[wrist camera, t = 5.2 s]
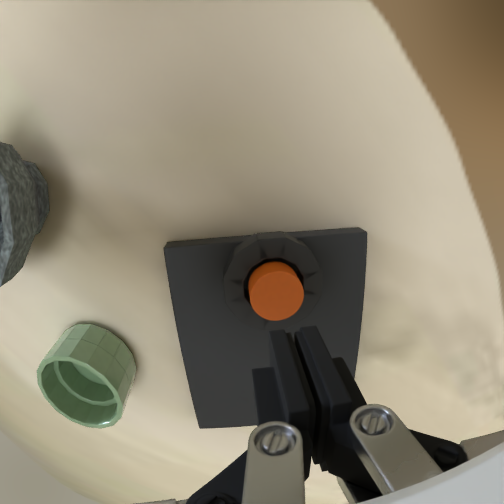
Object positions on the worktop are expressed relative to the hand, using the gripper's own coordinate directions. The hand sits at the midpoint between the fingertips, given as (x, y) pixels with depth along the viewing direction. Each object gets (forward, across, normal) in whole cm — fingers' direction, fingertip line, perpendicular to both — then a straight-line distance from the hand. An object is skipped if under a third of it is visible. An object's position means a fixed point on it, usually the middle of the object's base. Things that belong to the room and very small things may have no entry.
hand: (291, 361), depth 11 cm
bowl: (+11, +14, +7) cm, 19 cm away
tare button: (+8, -1, +1) cm, 8 cm away
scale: (+11, 0, +6) cm, 13 cm away
